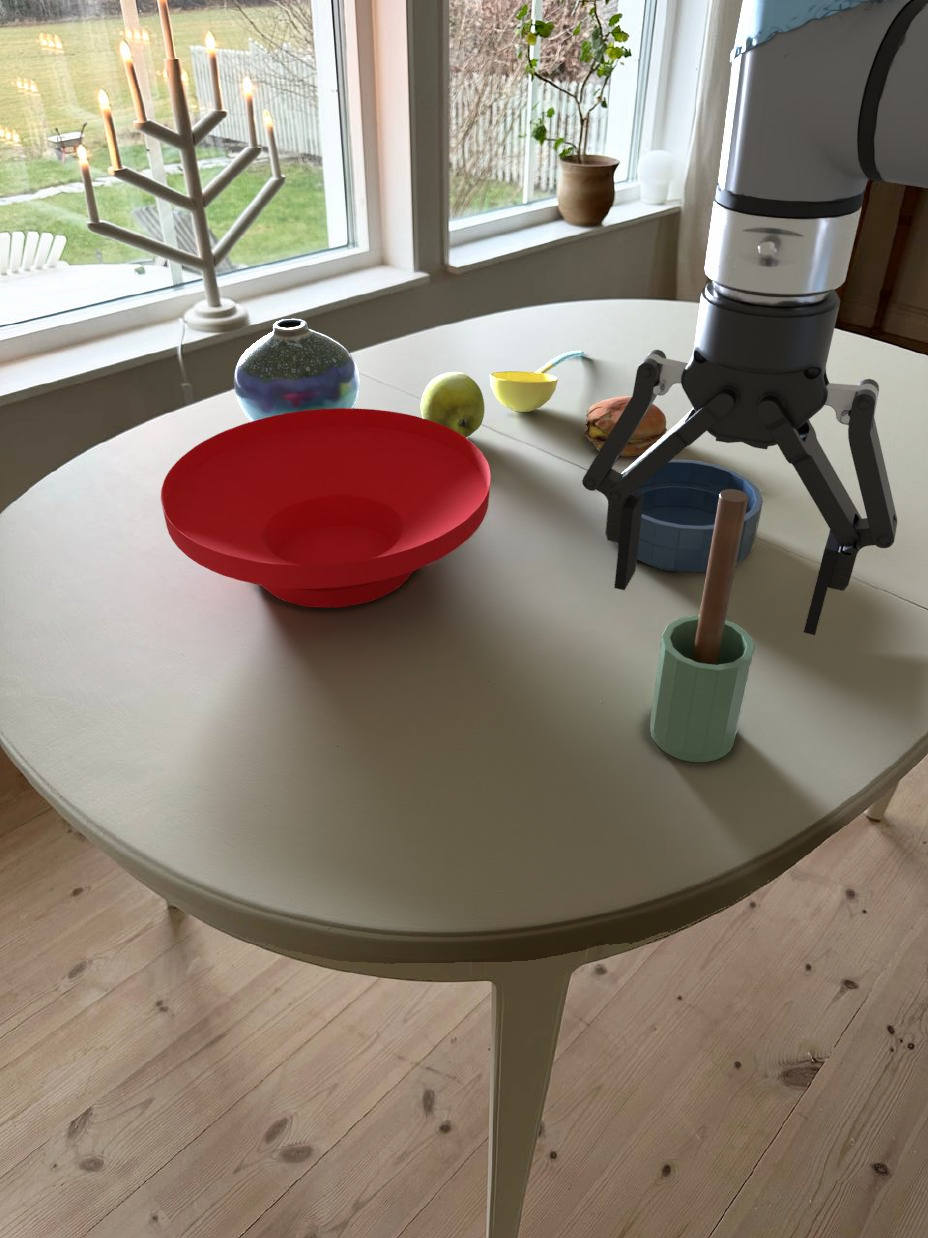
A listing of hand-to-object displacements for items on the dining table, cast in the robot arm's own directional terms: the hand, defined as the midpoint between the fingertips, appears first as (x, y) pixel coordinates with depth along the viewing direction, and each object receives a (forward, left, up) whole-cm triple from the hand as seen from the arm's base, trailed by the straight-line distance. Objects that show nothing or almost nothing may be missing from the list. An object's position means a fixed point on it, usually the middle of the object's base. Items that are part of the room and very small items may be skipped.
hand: (715, 600), depth 64 cm
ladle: (+35, -61, -13) cm, 71 cm away
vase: (+59, -36, -13) cm, 70 cm away
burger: (+20, -48, -13) cm, 54 cm away
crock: (0, 0, -13) cm, 13 cm away
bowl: (+38, -10, -13) cm, 41 cm away
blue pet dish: (+8, -28, -13) cm, 32 cm away
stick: (0, 0, -12) cm, 12 cm away
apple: (+40, -41, -13) cm, 59 cm away
